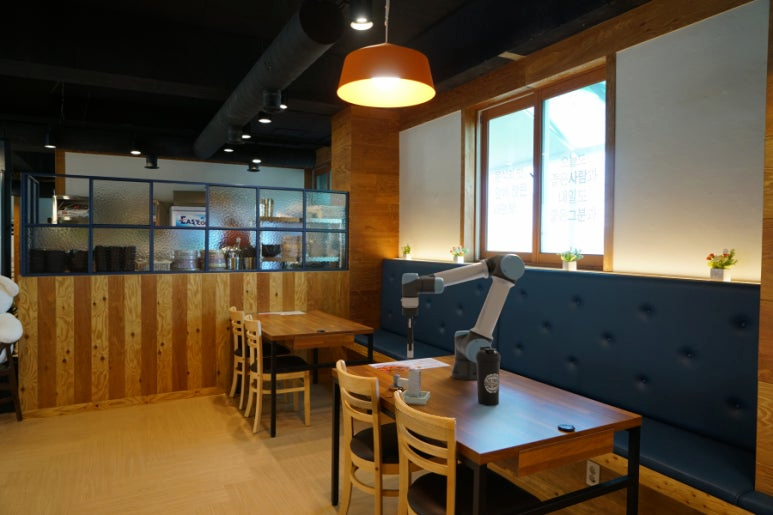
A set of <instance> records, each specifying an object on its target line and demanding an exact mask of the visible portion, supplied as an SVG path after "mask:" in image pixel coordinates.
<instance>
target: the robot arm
mask: <svg viewBox="0 0 773 515" xmlns="http://www.w3.org/2000/svg"><path fill="white" fill-rule="evenodd" d="M525 267H526V266H525V262H524V260H523V259H522V258H521V257H520V256H519V255H517V254H513V253H500V254H495V255H493V256H491V257H487V258H484V259H481V260H479V262H475V263H472V264H468V265H463V266H460V267H459V266H458V267H455V268H452V269H451V268H450V269H447V270H443V271H439V272H436V273H431V274H426V275H424V274H423V275H420V276H419V274H418V272H417V273H414V272H411V273H410V272H407V273H403V274H402V278H401V297H402V298H401V299H400V302H401V306H402V308H401V315H402V316H407V318H405V325H406V327H405V328H406V333H407V335H406V336H407V337H406V342H405V344H406V345H407V346H406V348H407V349H406V350H407V351H406V352H407V353H406V357H407V358H408V359H409V358H414V343H415V341H414V329H415V318H414V317H413V316H415V317H416V316H418V315H419V307H418V306H419V295H420V294H442V293H443V292H444V289H445V288H446V287H448V286H453V285H458V284H461V283H465V282H468V281H474V280H477V279H481V278H484V279H490V278H491V279H492V284H491V286H490V288H489V290H488V293H487V296H486V298H485V301H484V303H483V306H482V308H481V310H480V313H479V315H478V318H477V319H476V320H477V321H476V322H475V323H476V324H475V325H474V327H472V328H470V329H469V330H457V331H456V332H455V333H454V363H453V367H452V369H451V378H453V379H454V380H455V379H456V380H461V381H477V361H476V354H477V352H478V351H480V347H482V346H489V347H490V348H493V347H492V343H493V341H494V337H493V332H494V329H495V327H496V324H497V322H498V319H499V317H500V315H501V312H502V309H503V307H504V305H505V302H506V300H507V297H508V295H509V293H510V289H511V288H512V287H514V286H515V285H516V283H517V281H518V279H520V278H521V277H522V276H523V275H524V273H525V270H526V269H525Z"/></svg>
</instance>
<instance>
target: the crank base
mask: <svg viewBox="0 0 773 515" xmlns="http://www.w3.org/2000/svg"><path fill="white" fill-rule="evenodd" d="M390 387H392V388H398V389H400V388H403V389H404V387H399V386H394V385H393V384H391V385H390V386H389V388H390Z"/></svg>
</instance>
